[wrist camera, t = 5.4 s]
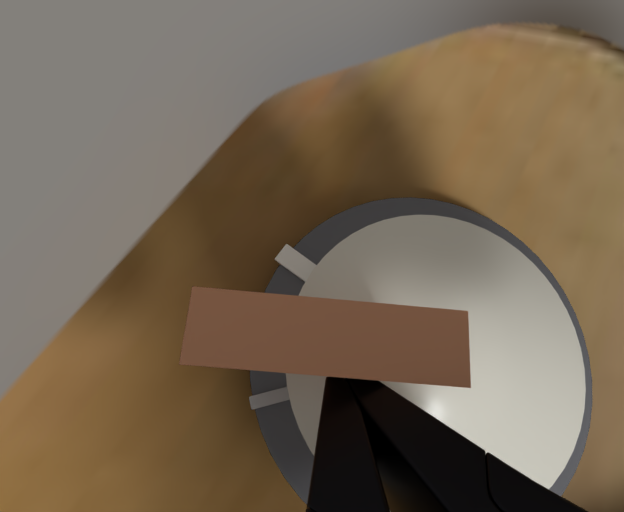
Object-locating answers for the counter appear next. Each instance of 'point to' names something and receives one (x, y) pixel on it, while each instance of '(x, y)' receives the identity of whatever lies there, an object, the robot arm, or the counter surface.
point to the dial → (416, 336)
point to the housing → (289, 281)
